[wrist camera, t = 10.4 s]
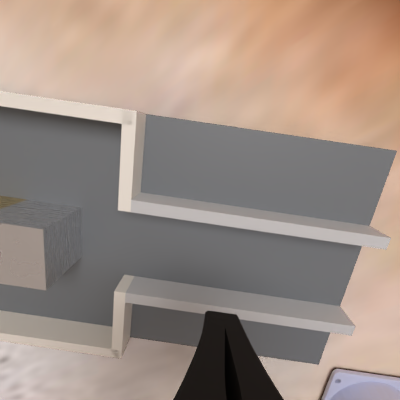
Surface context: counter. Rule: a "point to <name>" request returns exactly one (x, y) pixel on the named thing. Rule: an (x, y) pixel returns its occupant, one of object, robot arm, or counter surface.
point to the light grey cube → (38, 242)
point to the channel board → (187, 228)
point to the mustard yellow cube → (9, 201)
